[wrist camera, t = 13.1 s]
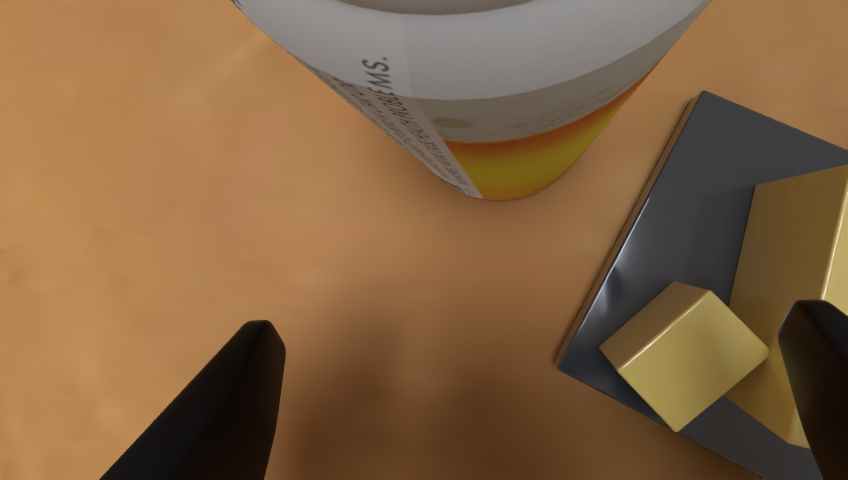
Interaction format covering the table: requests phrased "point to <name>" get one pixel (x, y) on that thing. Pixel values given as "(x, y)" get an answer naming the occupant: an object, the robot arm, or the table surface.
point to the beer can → (481, 75)
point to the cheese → (719, 285)
